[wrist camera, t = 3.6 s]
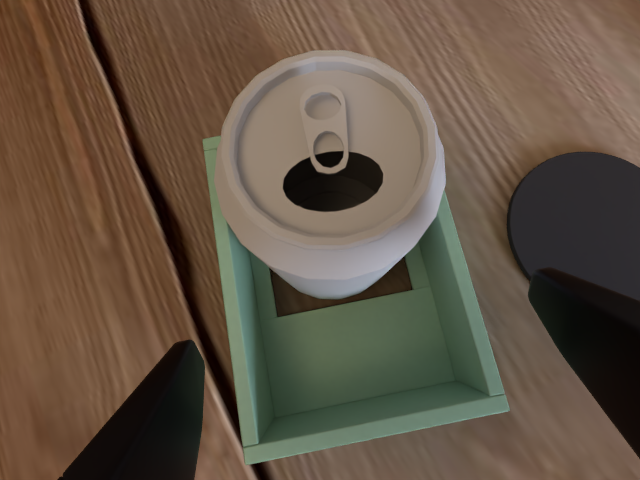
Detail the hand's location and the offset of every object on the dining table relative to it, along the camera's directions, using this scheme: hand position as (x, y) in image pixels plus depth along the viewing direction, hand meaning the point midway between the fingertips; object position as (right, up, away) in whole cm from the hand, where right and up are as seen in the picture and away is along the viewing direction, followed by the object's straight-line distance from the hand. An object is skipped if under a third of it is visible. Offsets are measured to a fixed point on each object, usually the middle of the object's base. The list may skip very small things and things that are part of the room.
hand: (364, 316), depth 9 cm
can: (0, +2, +12) cm, 13 cm away
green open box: (0, 0, +12) cm, 12 cm away
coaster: (+15, +2, +12) cm, 19 cm away
